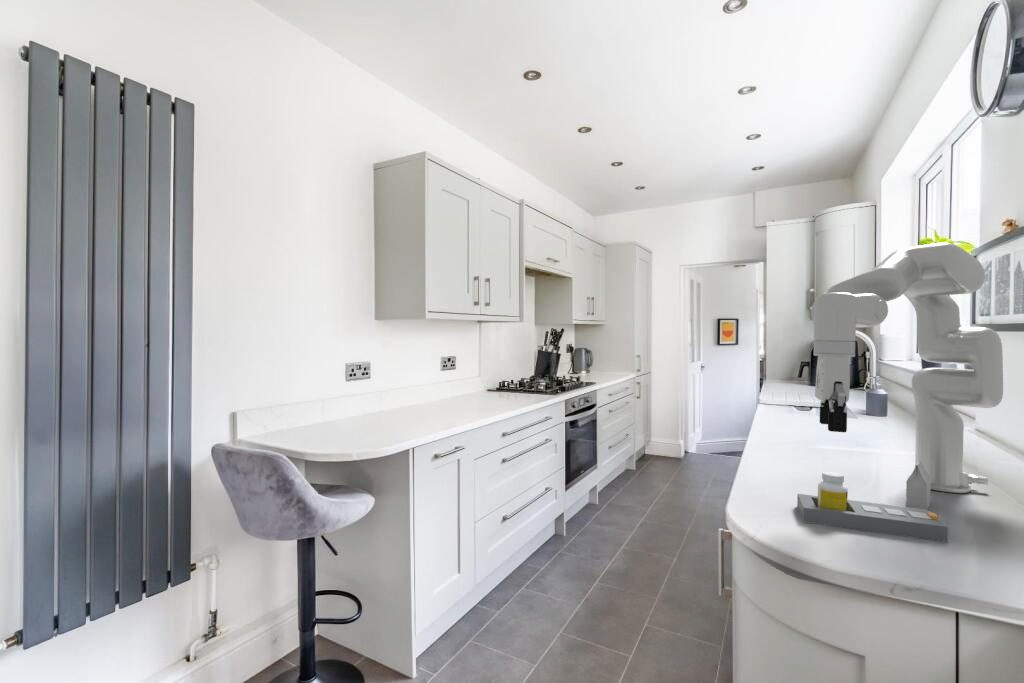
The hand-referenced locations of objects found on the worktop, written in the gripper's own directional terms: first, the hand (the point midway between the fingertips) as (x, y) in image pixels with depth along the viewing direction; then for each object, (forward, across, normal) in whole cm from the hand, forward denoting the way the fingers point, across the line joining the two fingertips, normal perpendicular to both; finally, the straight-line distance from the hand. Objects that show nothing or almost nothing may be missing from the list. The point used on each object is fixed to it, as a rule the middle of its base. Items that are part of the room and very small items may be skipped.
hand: (832, 427), depth 103 cm
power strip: (+20, 0, +6) cm, 21 cm away
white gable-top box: (+20, -20, +21) cm, 35 cm away
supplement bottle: (+20, 0, 0) cm, 20 cm away
